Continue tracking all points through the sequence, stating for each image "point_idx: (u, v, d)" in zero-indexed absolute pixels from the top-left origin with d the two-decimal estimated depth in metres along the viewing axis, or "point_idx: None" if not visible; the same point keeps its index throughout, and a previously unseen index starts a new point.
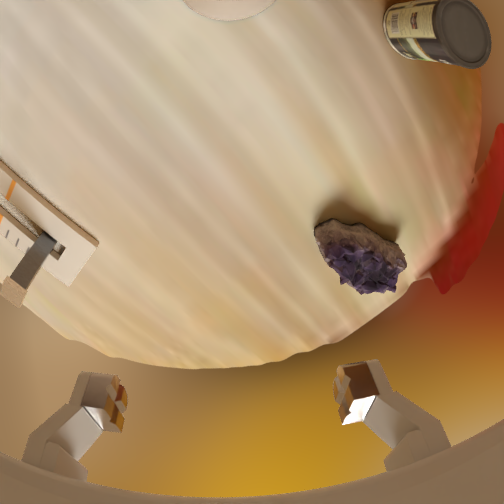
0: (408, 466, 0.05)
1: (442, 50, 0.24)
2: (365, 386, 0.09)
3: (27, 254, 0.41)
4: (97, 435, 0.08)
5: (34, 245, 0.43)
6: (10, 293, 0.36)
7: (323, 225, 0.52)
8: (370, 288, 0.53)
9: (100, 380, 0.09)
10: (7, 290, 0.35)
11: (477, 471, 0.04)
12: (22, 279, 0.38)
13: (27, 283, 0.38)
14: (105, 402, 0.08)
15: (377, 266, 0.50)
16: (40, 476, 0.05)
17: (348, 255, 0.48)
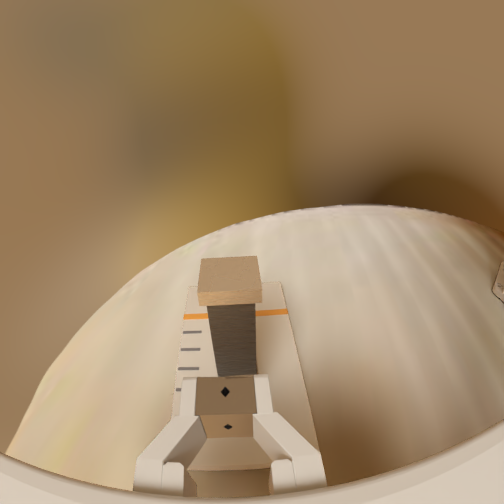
0: (408, 466, 0.05)
1: None
2: (242, 401, 0.09)
3: None
4: (202, 444, 0.09)
5: None
6: (233, 269, 0.23)
7: None
8: None
9: (208, 384, 0.09)
10: (234, 265, 0.23)
11: (477, 471, 0.04)
12: None
13: None
14: (225, 407, 0.08)
15: None
16: (40, 476, 0.05)
17: None
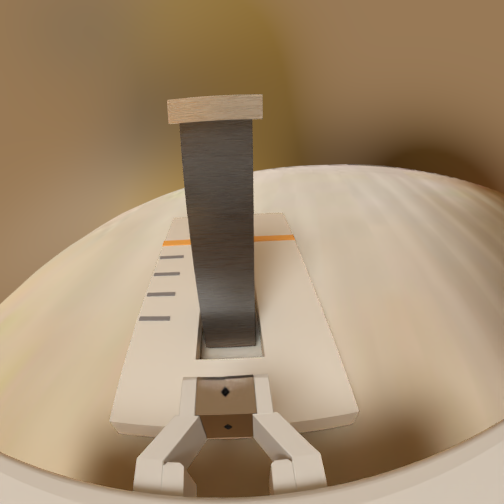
0: (408, 466, 0.05)
1: None
2: (242, 402, 0.09)
3: None
4: (202, 444, 0.09)
5: None
6: None
7: None
8: None
9: (208, 384, 0.09)
10: None
11: (477, 471, 0.04)
12: None
13: None
14: (225, 407, 0.08)
15: None
16: (40, 476, 0.05)
17: None
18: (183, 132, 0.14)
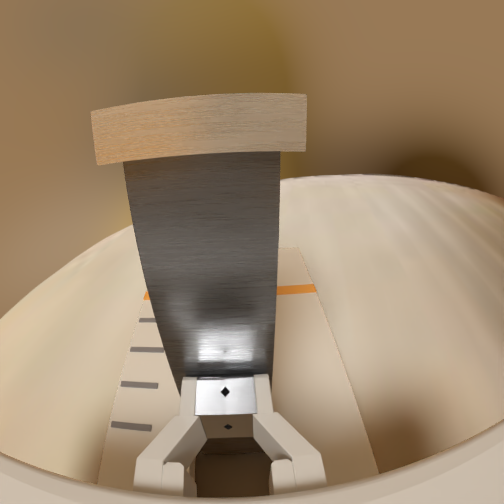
0: (408, 466, 0.05)
1: None
2: (242, 401, 0.09)
3: None
4: (202, 444, 0.09)
5: None
6: None
7: None
8: None
9: (208, 384, 0.09)
10: None
11: (478, 471, 0.04)
12: None
13: None
14: (225, 407, 0.08)
15: None
16: (40, 476, 0.05)
17: None
18: (131, 179, 0.06)
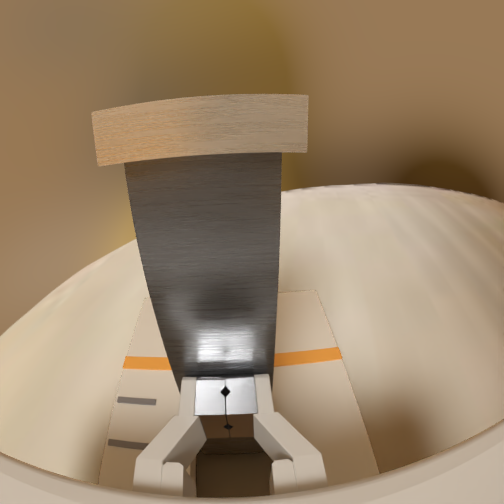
0: (408, 466, 0.05)
1: None
2: (242, 401, 0.09)
3: None
4: (202, 444, 0.09)
5: None
6: None
7: None
8: None
9: (208, 384, 0.09)
10: None
11: (477, 472, 0.04)
12: None
13: None
14: (224, 407, 0.08)
15: None
16: (40, 476, 0.05)
17: None
18: (132, 180, 0.06)
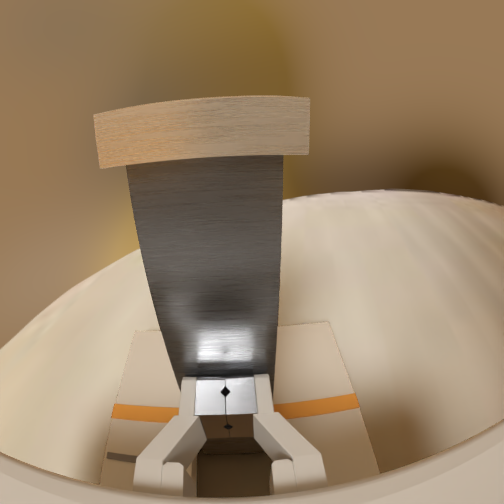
0: (408, 466, 0.05)
1: None
2: (242, 401, 0.09)
3: None
4: (202, 444, 0.09)
5: None
6: None
7: None
8: None
9: (208, 384, 0.09)
10: None
11: (477, 471, 0.04)
12: None
13: None
14: (224, 407, 0.08)
15: None
16: (40, 476, 0.05)
17: None
18: (134, 182, 0.06)
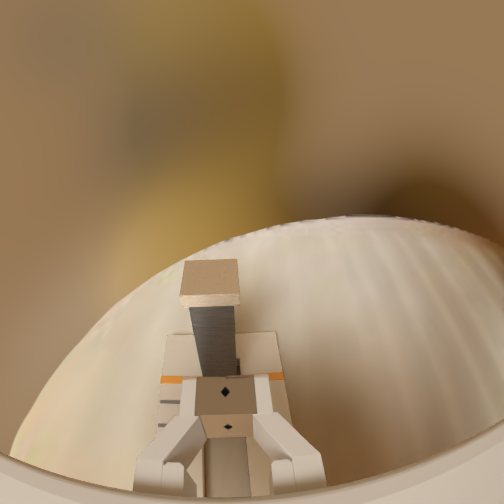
0: (408, 466, 0.05)
1: None
2: (242, 401, 0.09)
3: None
4: (202, 444, 0.09)
5: None
6: (214, 272, 0.24)
7: None
8: None
9: (208, 384, 0.09)
10: (215, 268, 0.25)
11: (478, 471, 0.04)
12: None
13: None
14: (225, 407, 0.08)
15: None
16: (40, 476, 0.05)
17: None
18: (191, 307, 0.23)
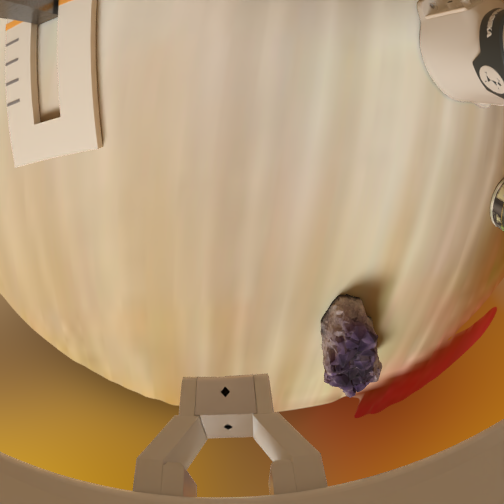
0: (408, 466, 0.05)
1: None
2: (242, 401, 0.09)
3: None
4: (202, 444, 0.09)
5: None
6: None
7: (350, 298, 0.46)
8: (342, 382, 0.46)
9: (208, 384, 0.09)
10: None
11: (478, 471, 0.04)
12: None
13: None
14: (225, 407, 0.08)
15: (367, 366, 0.45)
16: (40, 476, 0.05)
17: (361, 342, 0.42)
18: None
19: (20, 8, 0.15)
